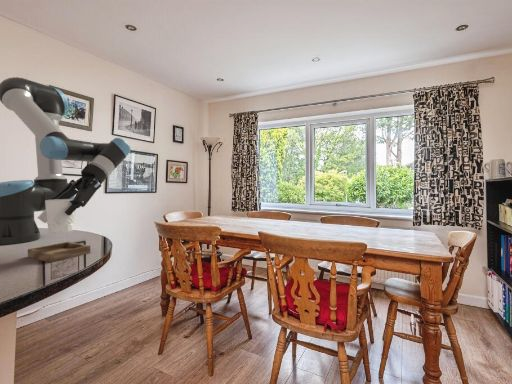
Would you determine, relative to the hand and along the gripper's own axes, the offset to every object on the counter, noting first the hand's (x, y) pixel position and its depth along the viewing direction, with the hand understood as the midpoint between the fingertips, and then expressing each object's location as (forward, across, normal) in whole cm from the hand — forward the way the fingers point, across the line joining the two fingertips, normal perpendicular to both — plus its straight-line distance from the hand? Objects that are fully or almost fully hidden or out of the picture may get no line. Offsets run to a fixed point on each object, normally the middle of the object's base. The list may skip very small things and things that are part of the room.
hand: (49, 221), depth 84 cm
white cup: (0, 0, -5) cm, 5 cm away
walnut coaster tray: (+6, +1, -10) cm, 12 cm away
